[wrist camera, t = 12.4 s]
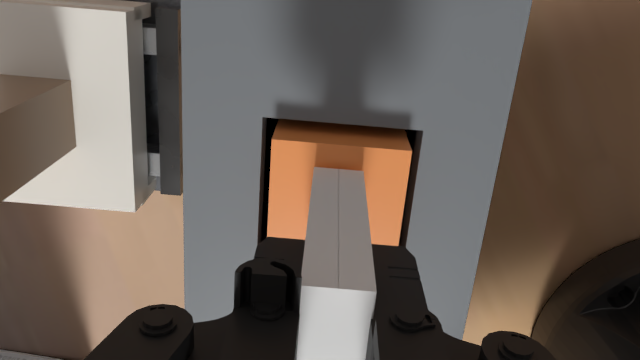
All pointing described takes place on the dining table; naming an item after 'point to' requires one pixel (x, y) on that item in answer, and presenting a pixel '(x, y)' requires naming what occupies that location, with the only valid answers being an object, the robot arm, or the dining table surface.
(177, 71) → the rail track
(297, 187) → the orange cube
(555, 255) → the dining table surface
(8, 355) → the tea box
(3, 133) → the carriage
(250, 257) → the gauge cabinet
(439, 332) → the robot arm
